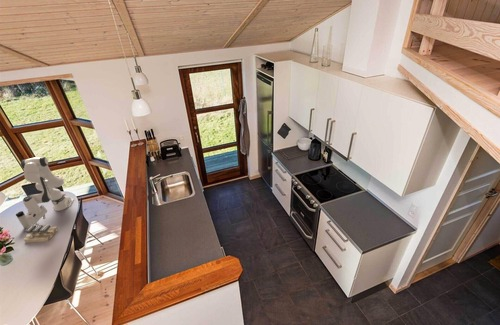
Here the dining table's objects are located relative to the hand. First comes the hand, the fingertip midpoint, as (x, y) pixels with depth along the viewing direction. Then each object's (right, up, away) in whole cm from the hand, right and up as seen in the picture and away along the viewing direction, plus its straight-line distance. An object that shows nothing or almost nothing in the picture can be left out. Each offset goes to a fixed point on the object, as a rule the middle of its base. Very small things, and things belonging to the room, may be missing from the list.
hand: (41, 221), depth 242 cm
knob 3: (0, -13, +7) cm, 15 cm away
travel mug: (-32, -11, +21) cm, 39 cm away
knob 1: (-14, -13, +7) cm, 20 cm away
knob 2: (-7, -13, +7) cm, 16 cm away
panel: (-7, -17, +9) cm, 20 cm away
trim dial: (-10, -16, +2) cm, 19 cm away
